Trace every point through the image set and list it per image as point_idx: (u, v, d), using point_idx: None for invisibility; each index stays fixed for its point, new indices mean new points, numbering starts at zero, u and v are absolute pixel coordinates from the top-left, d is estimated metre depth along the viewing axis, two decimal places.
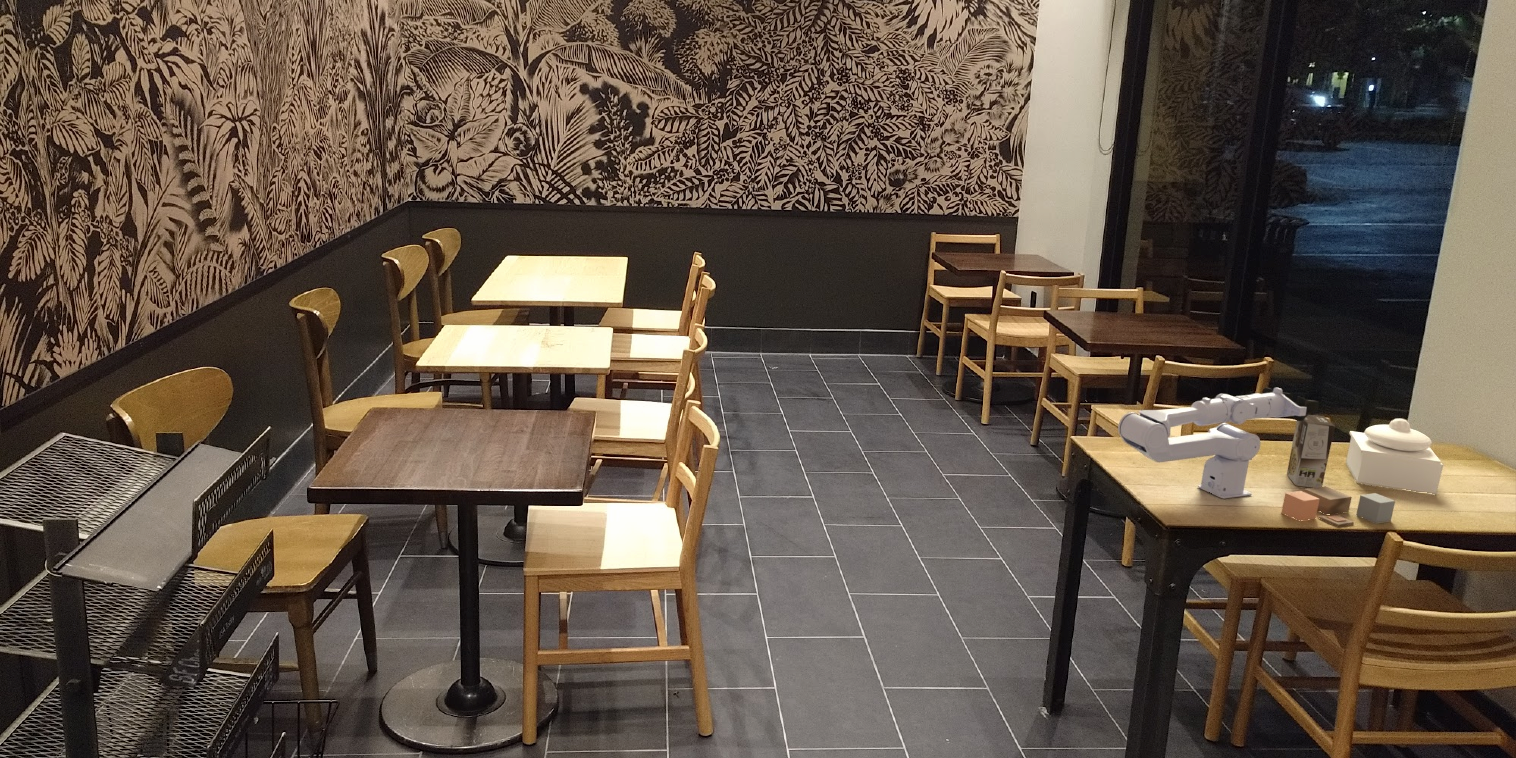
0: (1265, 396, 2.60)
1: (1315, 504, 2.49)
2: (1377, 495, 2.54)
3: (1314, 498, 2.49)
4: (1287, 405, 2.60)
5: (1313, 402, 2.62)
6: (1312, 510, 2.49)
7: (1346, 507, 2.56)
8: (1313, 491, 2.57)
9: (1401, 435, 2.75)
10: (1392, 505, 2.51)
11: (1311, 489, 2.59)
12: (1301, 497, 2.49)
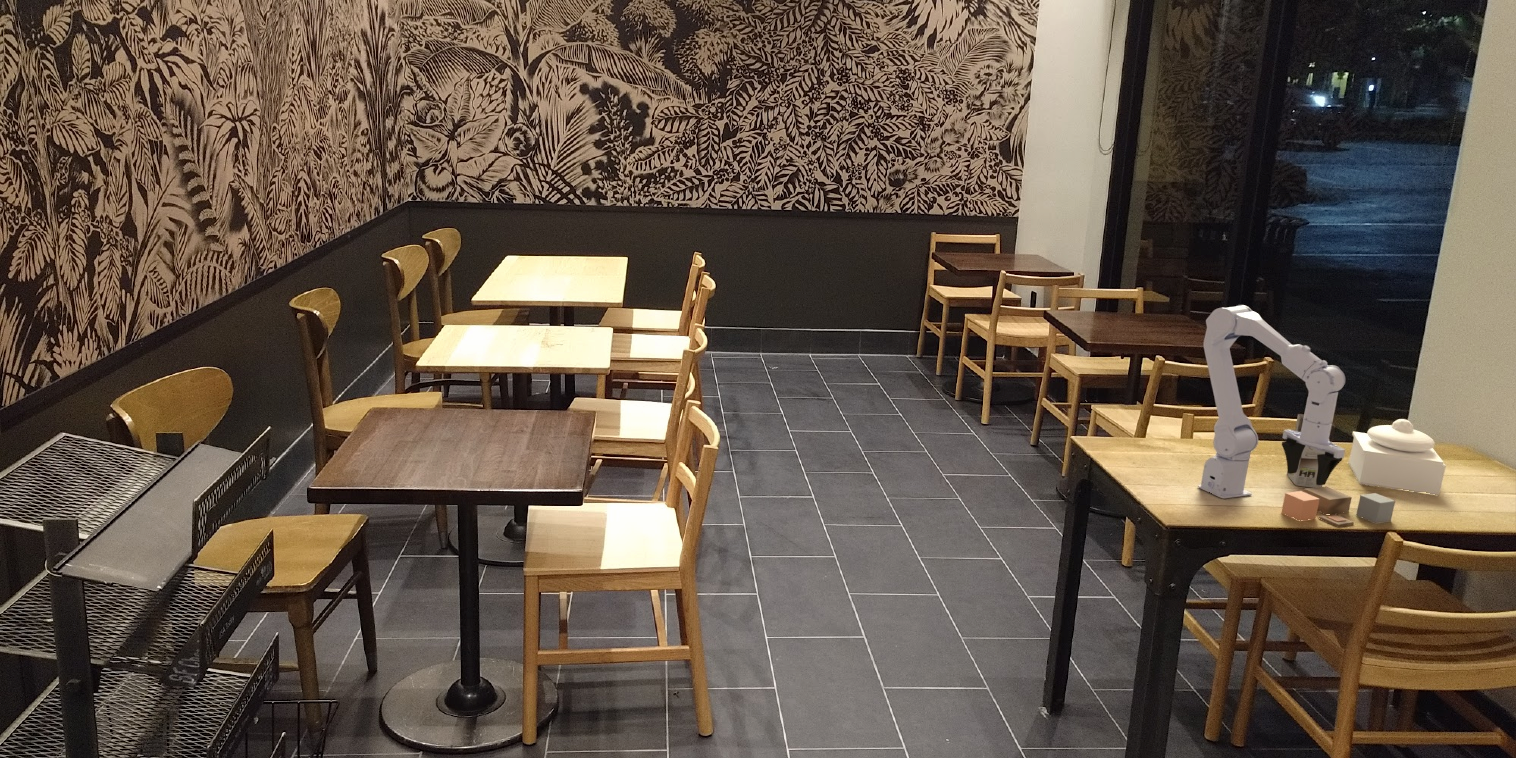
0: None
1: (1315, 504, 2.49)
2: (1377, 495, 2.54)
3: (1314, 498, 2.49)
4: (1327, 445, 2.45)
5: (1328, 475, 2.45)
6: (1312, 510, 2.49)
7: (1346, 507, 2.56)
8: (1313, 491, 2.58)
9: (1404, 436, 2.75)
10: (1392, 505, 2.51)
11: (1311, 489, 2.59)
12: (1301, 497, 2.49)
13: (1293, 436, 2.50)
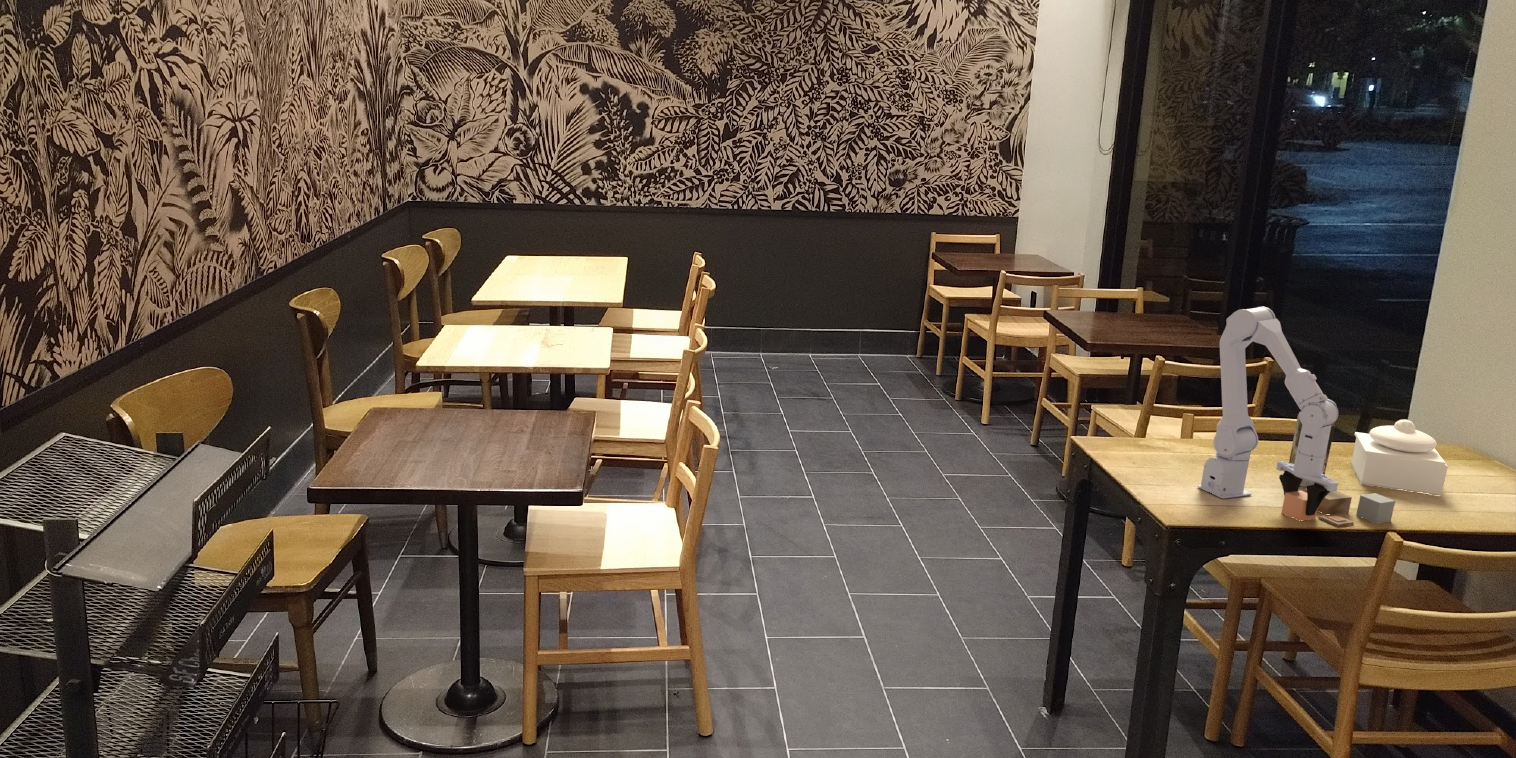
0: None
1: None
2: (1377, 495, 2.54)
3: None
4: None
5: (1317, 506, 2.48)
6: None
7: (1346, 507, 2.56)
8: None
9: (1406, 436, 2.74)
10: (1392, 505, 2.51)
11: None
12: (1301, 497, 2.49)
13: (1287, 468, 2.52)
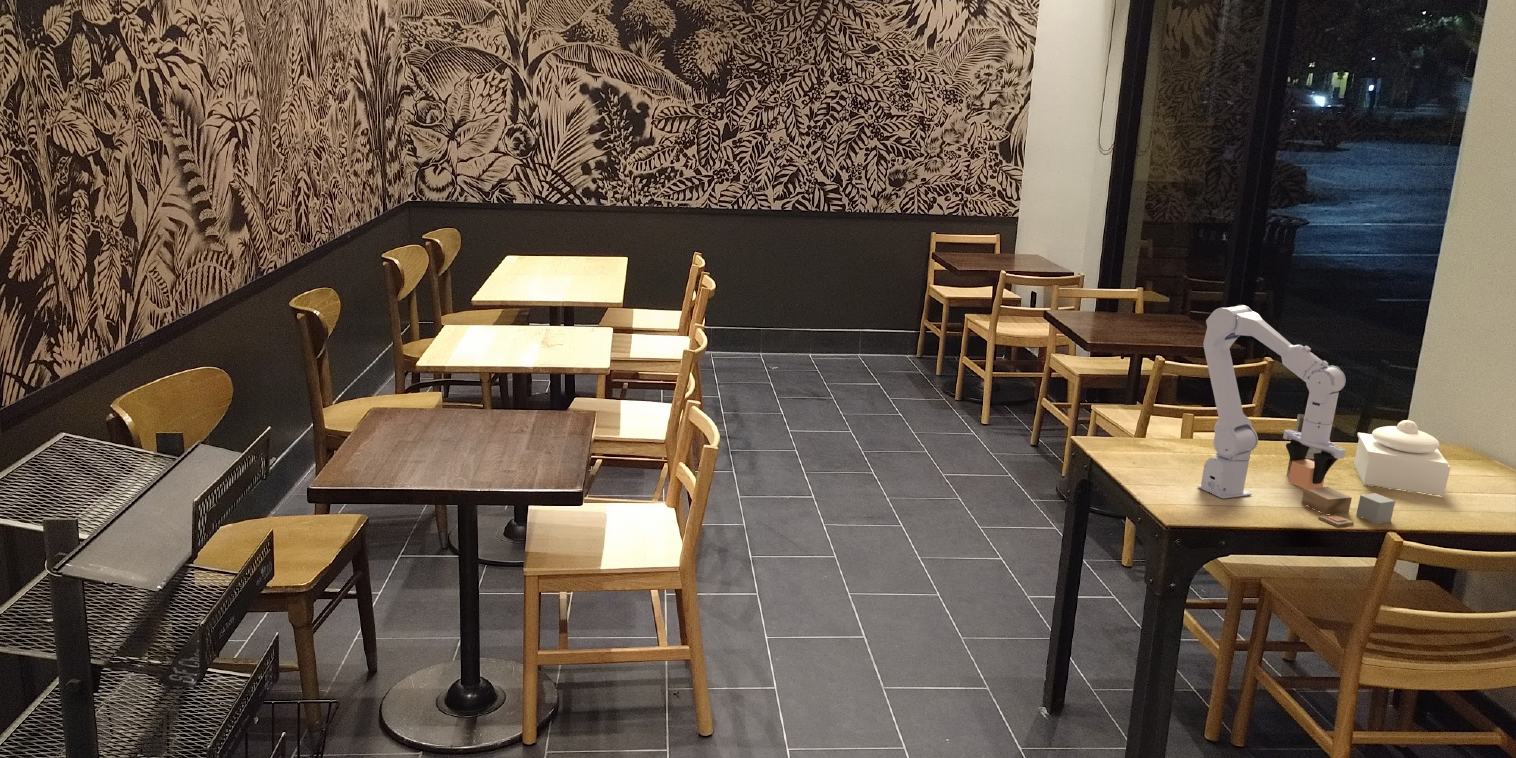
0: None
1: None
2: (1377, 495, 2.54)
3: None
4: None
5: (1324, 474, 2.47)
6: None
7: (1346, 507, 2.55)
8: (1313, 491, 2.58)
9: (1409, 437, 2.74)
10: (1392, 505, 2.51)
11: (1311, 489, 2.59)
12: (1308, 465, 2.48)
13: (1293, 436, 2.50)
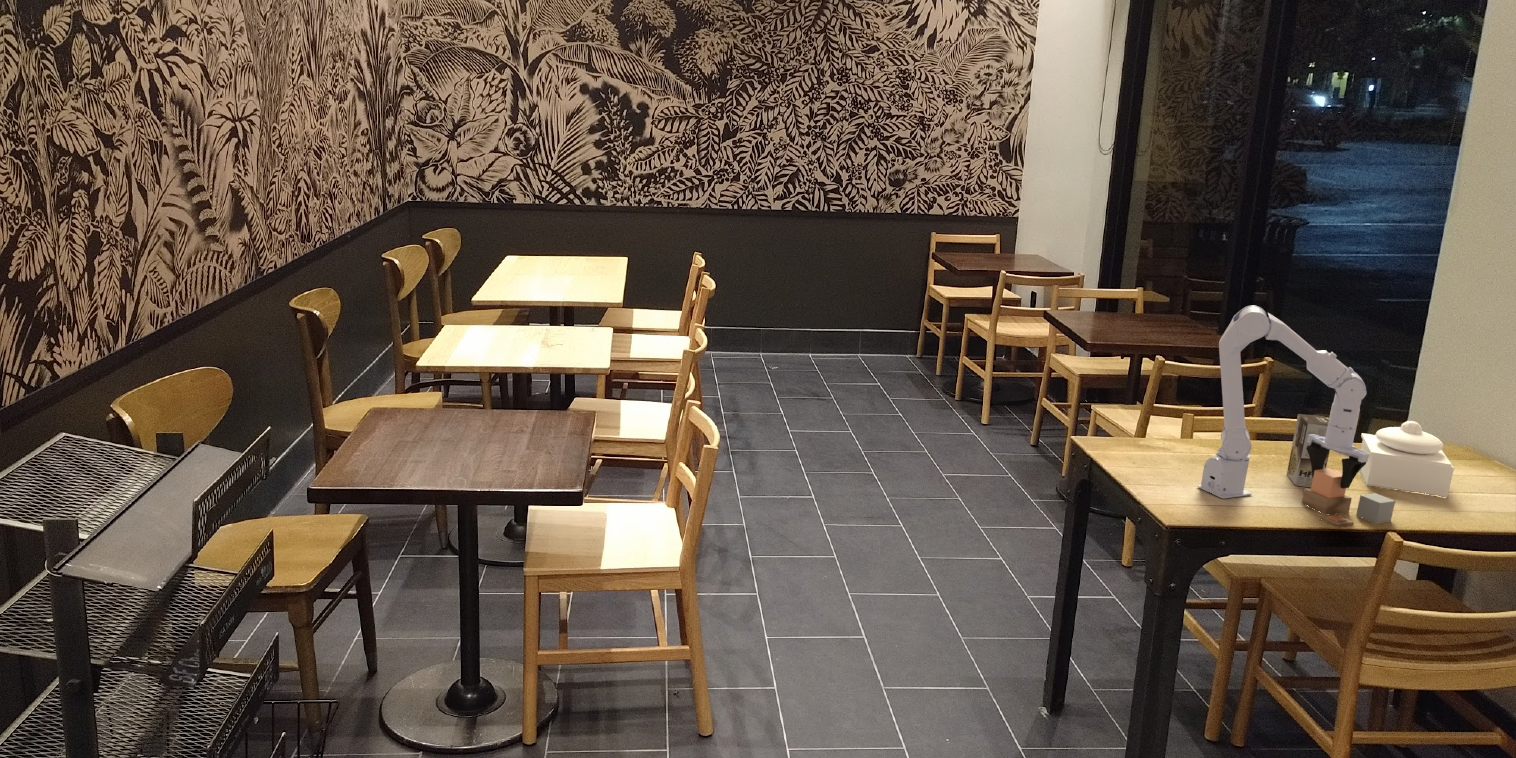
0: None
1: None
2: (1377, 495, 2.54)
3: None
4: None
5: (1352, 479, 2.52)
6: None
7: (1346, 507, 2.55)
8: (1312, 491, 2.58)
9: (1412, 438, 2.73)
10: (1392, 505, 2.51)
11: None
12: (1330, 474, 2.55)
13: (1318, 440, 2.57)
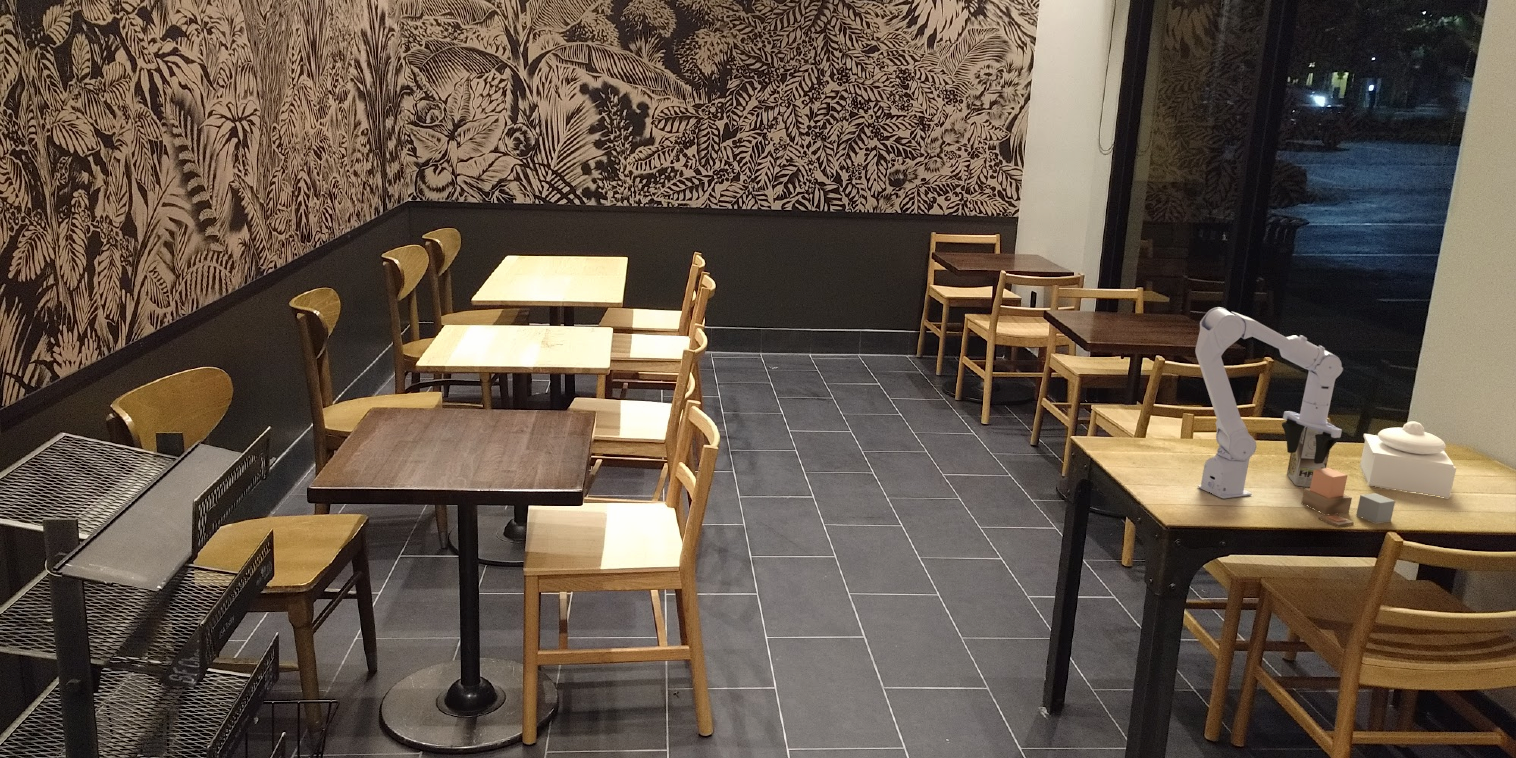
0: None
1: (1343, 480, 2.55)
2: (1377, 495, 2.54)
3: (1342, 474, 2.55)
4: (1325, 425, 2.57)
5: (1325, 454, 2.58)
6: (1341, 486, 2.55)
7: (1346, 507, 2.55)
8: None
9: (1414, 438, 2.73)
10: (1392, 505, 2.51)
11: None
12: (1330, 474, 2.54)
13: (1293, 417, 2.62)
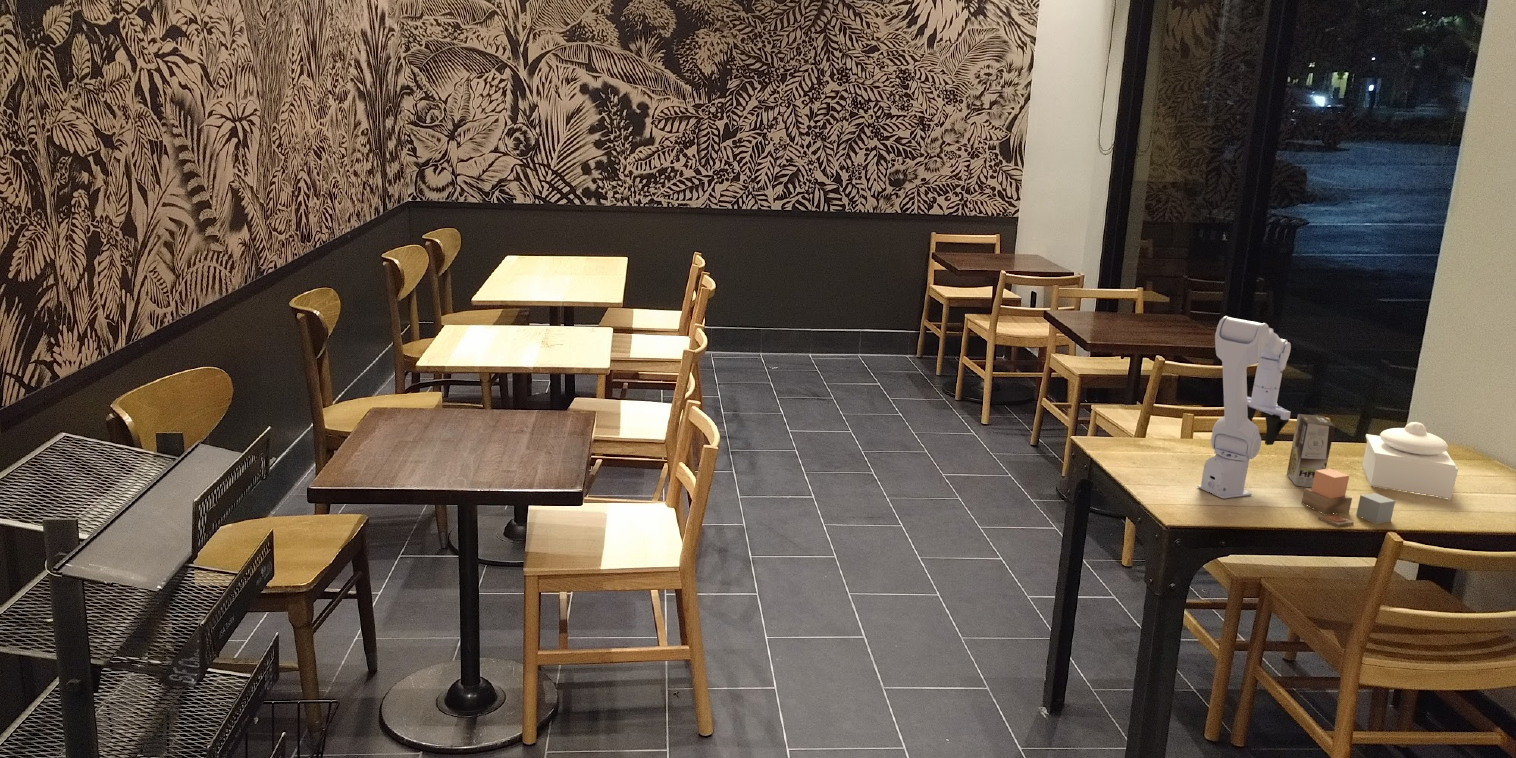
0: None
1: (1345, 481, 2.54)
2: (1377, 495, 2.54)
3: (1344, 475, 2.54)
4: (1275, 408, 2.69)
5: (1276, 436, 2.69)
6: (1342, 487, 2.55)
7: (1346, 508, 2.55)
8: None
9: (1416, 439, 2.73)
10: (1392, 505, 2.51)
11: None
12: (1331, 474, 2.54)
13: None
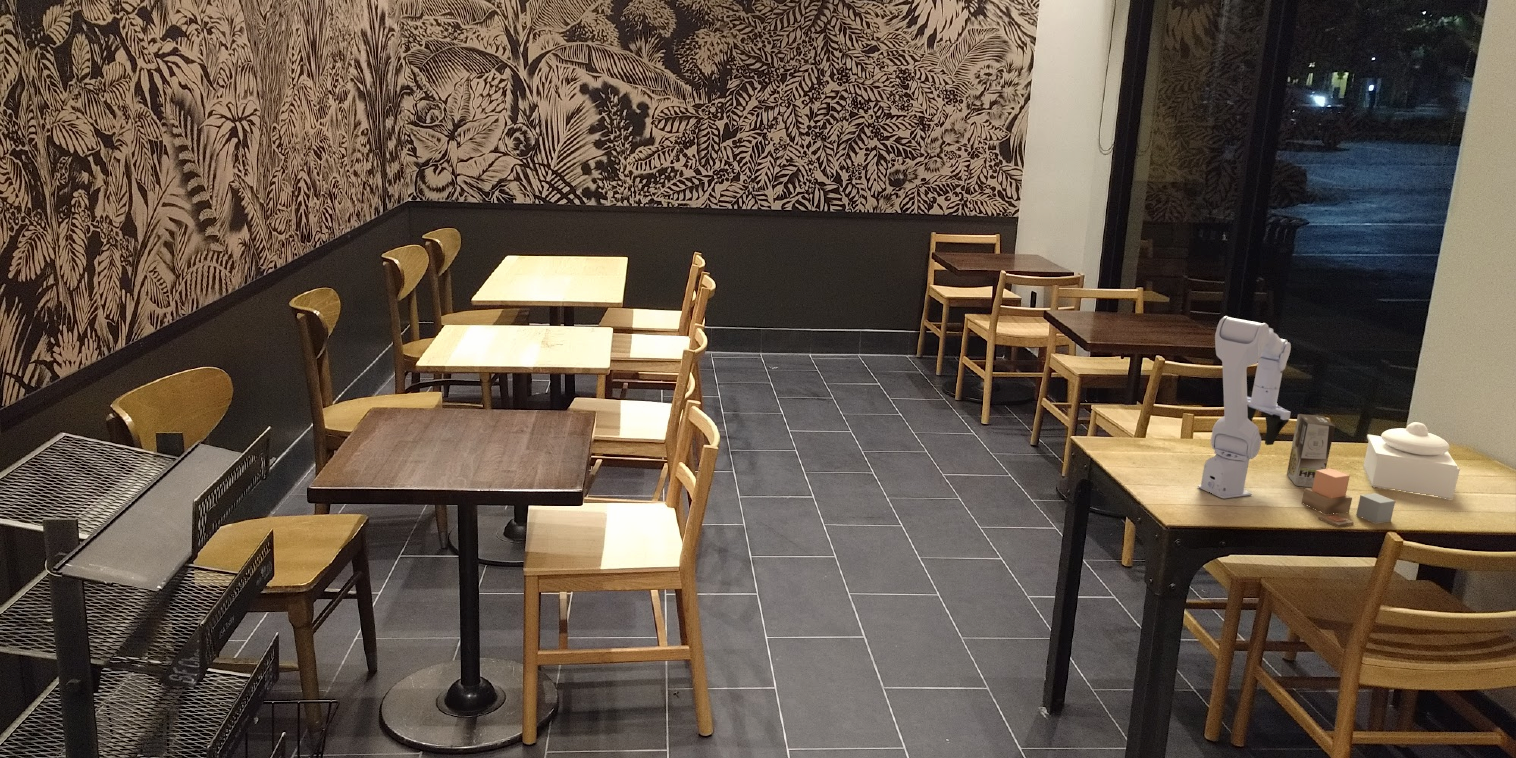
0: None
1: (1345, 481, 2.55)
2: (1377, 495, 2.54)
3: (1344, 475, 2.55)
4: (1275, 408, 2.69)
5: (1276, 436, 2.69)
6: (1343, 486, 2.55)
7: (1346, 507, 2.55)
8: None
9: (1418, 439, 2.73)
10: (1392, 505, 2.51)
11: None
12: (1332, 474, 2.54)
13: None
